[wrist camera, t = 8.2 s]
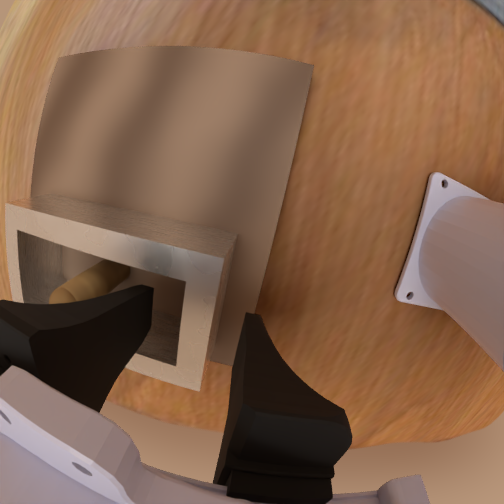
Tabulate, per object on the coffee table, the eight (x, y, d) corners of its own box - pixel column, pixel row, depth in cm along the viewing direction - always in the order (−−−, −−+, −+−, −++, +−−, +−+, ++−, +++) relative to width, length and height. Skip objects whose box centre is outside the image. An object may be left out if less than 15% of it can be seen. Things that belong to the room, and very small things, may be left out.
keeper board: (310, 75, 12) (338, 3, 5) (242, 353, 17) (226, 443, 10) (71, 62, 12) (-1, 36, 5) (45, 288, 17) (-17, 329, 10)
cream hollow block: (237, 234, 13) (224, 258, 10) (214, 344, 15) (199, 391, 11) (51, 193, 14) (5, 202, 10) (52, 289, 15) (15, 313, 12)
